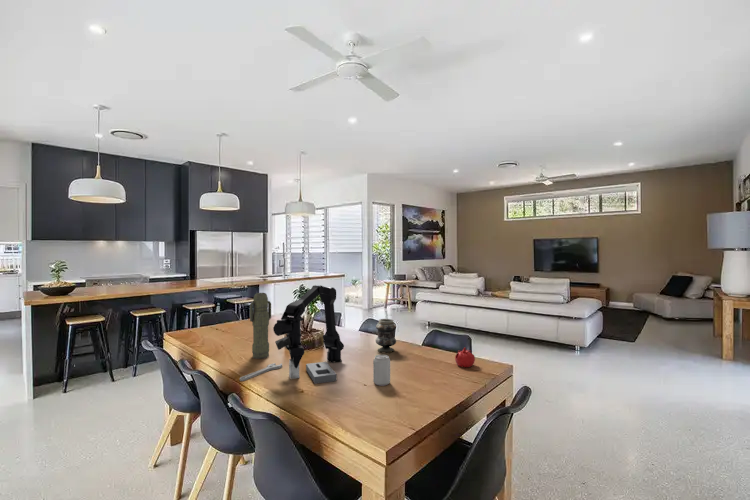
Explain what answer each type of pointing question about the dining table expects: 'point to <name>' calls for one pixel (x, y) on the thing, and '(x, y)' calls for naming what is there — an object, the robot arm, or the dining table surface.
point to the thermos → (260, 325)
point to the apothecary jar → (386, 335)
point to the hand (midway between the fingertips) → (294, 364)
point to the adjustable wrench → (261, 371)
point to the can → (381, 370)
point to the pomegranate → (464, 358)
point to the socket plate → (321, 372)
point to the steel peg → (293, 370)
